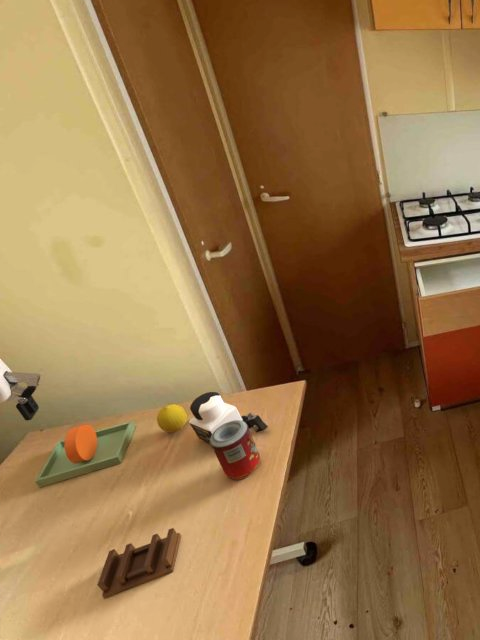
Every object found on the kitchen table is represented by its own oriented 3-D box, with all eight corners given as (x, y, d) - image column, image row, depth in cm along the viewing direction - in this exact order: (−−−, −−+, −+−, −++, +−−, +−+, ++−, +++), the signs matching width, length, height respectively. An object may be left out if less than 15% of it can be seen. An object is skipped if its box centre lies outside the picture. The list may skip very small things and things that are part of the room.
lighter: (246, 436, 106) (233, 421, 105) (253, 430, 108) (240, 415, 107) (261, 432, 102) (247, 416, 101) (268, 426, 104) (255, 410, 103)
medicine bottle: (199, 440, 102) (178, 407, 96) (226, 417, 108) (207, 384, 102) (220, 449, 100) (200, 416, 94) (246, 425, 106) (228, 392, 100)
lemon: (158, 436, 103) (145, 413, 100) (179, 418, 108) (167, 396, 104) (176, 441, 102) (164, 417, 98) (197, 423, 107) (185, 400, 103)
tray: (39, 487, 92) (34, 481, 91) (62, 447, 101) (57, 441, 100) (121, 462, 97) (117, 456, 96) (135, 426, 106) (132, 420, 105)
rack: (104, 598, 74) (95, 588, 72) (117, 558, 79) (109, 548, 78) (173, 571, 77) (166, 561, 76) (181, 535, 83) (174, 524, 81)
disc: (80, 470, 95) (59, 452, 91) (90, 438, 101) (71, 420, 96) (91, 466, 96) (71, 449, 91) (100, 435, 102) (82, 417, 97)
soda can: (266, 466, 96) (251, 429, 90) (232, 488, 91) (213, 451, 86) (255, 448, 100) (239, 412, 95) (222, 468, 96) (203, 431, 90)
